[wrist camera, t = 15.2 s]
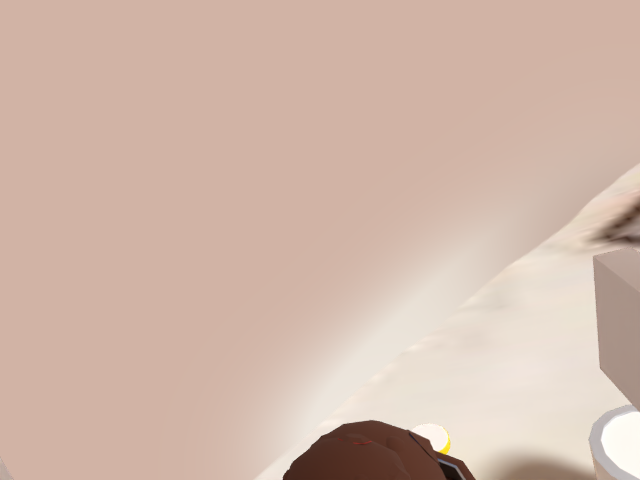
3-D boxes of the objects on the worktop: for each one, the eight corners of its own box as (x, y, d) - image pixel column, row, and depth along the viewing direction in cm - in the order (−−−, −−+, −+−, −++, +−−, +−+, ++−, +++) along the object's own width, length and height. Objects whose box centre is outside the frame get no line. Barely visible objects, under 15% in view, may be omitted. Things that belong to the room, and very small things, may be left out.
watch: (468, 540, 36) (455, 475, 33) (425, 544, 36) (409, 480, 34) (455, 464, 41) (443, 404, 39) (417, 469, 42) (403, 409, 39)
